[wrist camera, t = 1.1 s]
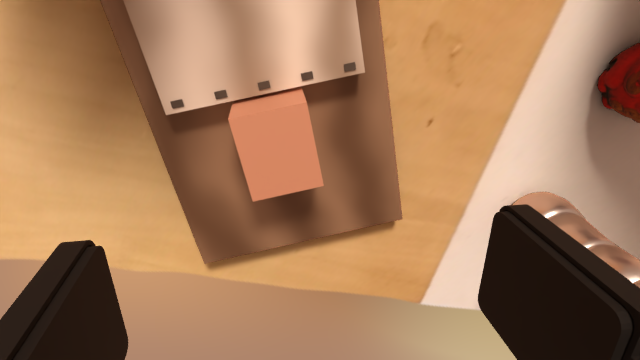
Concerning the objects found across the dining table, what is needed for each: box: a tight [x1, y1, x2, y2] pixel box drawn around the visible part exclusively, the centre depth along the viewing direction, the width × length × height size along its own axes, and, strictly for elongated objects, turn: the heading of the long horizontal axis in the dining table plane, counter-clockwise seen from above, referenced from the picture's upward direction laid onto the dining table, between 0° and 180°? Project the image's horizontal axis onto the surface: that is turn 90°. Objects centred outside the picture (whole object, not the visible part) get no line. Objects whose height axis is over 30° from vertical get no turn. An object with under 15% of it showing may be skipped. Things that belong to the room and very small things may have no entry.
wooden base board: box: [100, 0, 402, 264], centre depth 30 cm, size 18×24×4 cm
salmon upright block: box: [228, 86, 324, 202], centre depth 29 cm, size 5×6×5 cm
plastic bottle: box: [513, 192, 640, 288], centre depth 31 cm, size 6×7×20 cm
